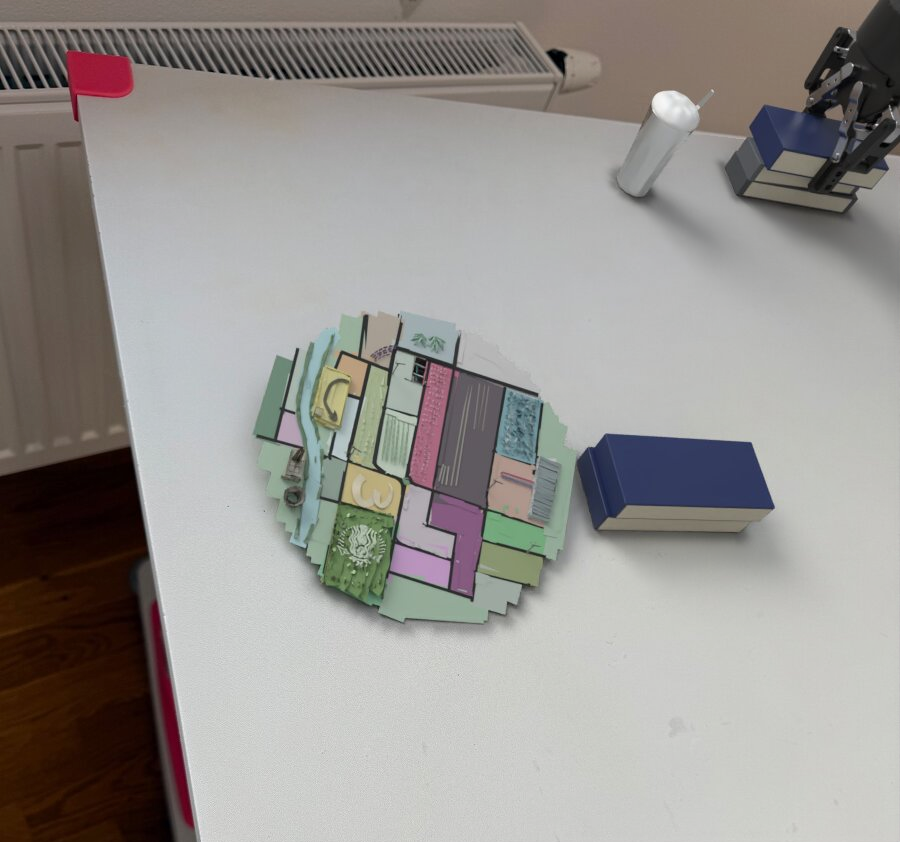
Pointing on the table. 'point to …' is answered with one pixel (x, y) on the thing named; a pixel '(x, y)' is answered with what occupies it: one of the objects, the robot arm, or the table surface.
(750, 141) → the grey stack
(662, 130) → the milkshake
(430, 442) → the city model
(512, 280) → the table surface
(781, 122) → the navy book
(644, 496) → the navy stack
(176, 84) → the table surface
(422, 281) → the table surface
